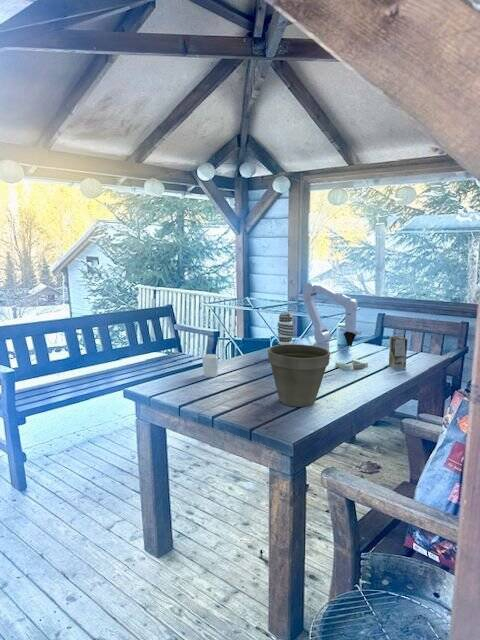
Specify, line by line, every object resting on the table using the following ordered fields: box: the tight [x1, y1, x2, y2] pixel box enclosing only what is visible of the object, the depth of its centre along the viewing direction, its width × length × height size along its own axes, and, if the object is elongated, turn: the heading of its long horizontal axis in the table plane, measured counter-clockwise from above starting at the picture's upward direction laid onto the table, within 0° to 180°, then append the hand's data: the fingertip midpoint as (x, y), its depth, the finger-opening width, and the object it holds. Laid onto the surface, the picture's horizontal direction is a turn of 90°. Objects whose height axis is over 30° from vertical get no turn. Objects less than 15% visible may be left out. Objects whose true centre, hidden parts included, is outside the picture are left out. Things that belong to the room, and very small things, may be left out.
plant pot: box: [267, 343, 331, 408], centre depth 187 cm, size 25×25×22 cm
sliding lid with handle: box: [352, 363, 367, 375], centre depth 234 cm, size 9×10×4 cm
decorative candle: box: [277, 312, 294, 345], centre depth 266 cm, size 9×9×25 cm
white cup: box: [201, 353, 219, 378], centre depth 226 cm, size 8×8×10 cm
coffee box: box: [388, 335, 408, 370], centre depth 240 cm, size 9×6×16 cm
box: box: [335, 358, 369, 371], centre depth 241 cm, size 9×15×2 cm, turn 121°
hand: (349, 345), depth 250 cm, fingers closed
